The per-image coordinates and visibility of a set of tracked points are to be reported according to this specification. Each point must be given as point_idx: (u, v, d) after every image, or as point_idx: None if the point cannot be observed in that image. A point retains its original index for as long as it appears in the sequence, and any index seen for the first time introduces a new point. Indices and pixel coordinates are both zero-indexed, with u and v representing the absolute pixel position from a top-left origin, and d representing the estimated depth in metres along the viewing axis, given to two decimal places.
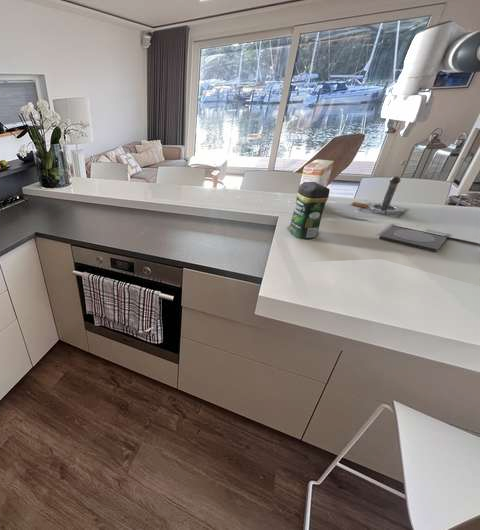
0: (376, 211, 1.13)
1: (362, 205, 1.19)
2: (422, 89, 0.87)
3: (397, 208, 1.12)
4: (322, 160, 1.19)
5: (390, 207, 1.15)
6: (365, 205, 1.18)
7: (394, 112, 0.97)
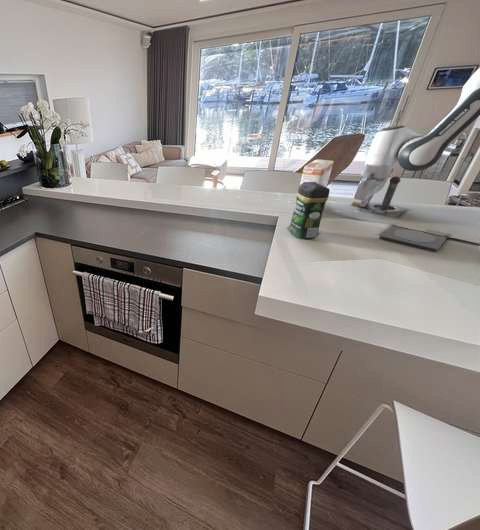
0: (376, 211, 1.13)
1: None
2: (368, 175, 1.10)
3: (397, 208, 1.12)
4: (322, 160, 1.19)
5: (390, 207, 1.15)
6: None
7: None
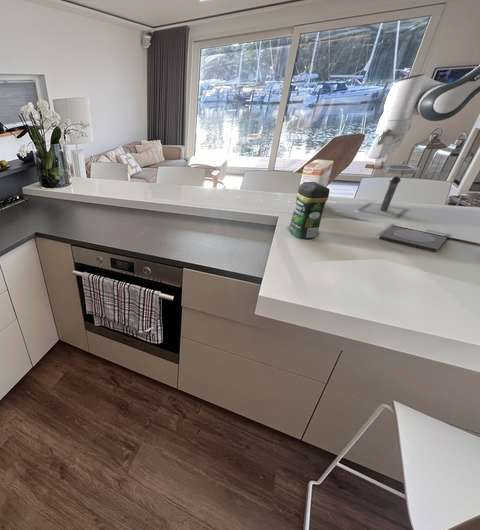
0: (392, 171, 1.05)
1: None
2: (384, 131, 1.02)
3: (415, 167, 1.04)
4: (322, 160, 1.19)
5: (407, 167, 1.07)
6: None
7: None
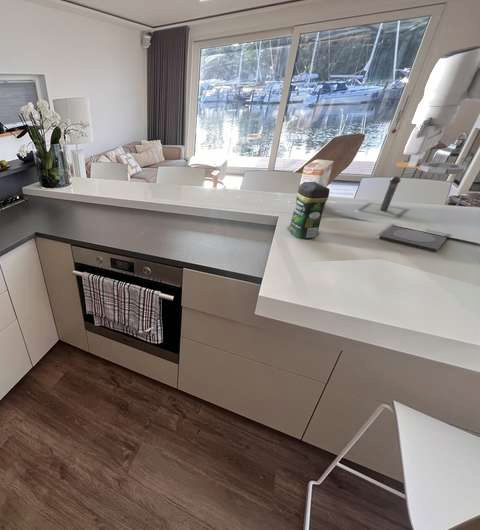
0: (433, 170, 0.84)
1: None
2: (425, 120, 0.81)
3: (462, 166, 0.83)
4: (322, 160, 1.19)
5: (450, 166, 0.86)
6: None
7: None
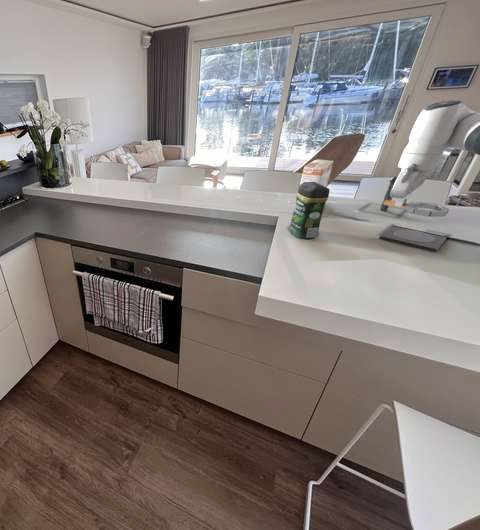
0: (417, 212, 0.89)
1: None
2: (409, 166, 0.86)
3: (444, 208, 0.88)
4: (322, 160, 1.19)
5: (434, 207, 0.91)
6: None
7: (403, 182, 0.94)
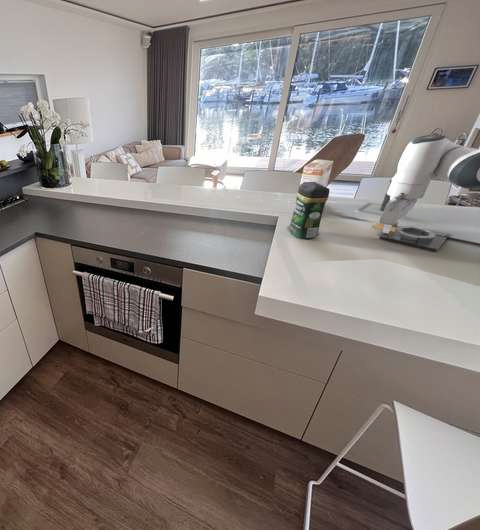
0: (406, 237, 0.93)
1: None
2: (397, 195, 0.91)
3: (431, 233, 0.92)
4: (322, 160, 1.19)
5: (422, 231, 0.96)
6: None
7: None
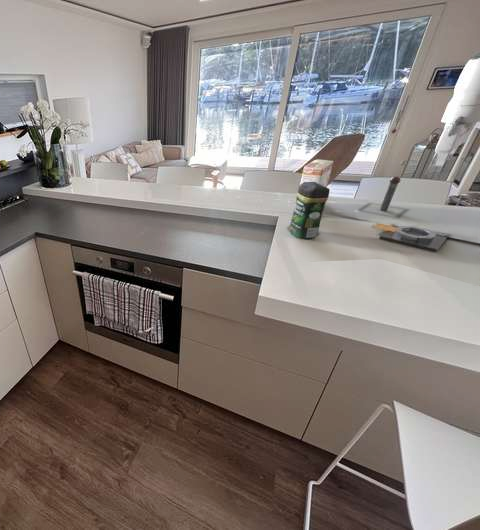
0: (406, 237, 0.93)
1: (387, 228, 1.00)
2: (456, 119, 0.84)
3: (431, 233, 0.92)
4: (322, 160, 1.19)
5: (422, 231, 0.96)
6: (391, 228, 0.99)
7: None
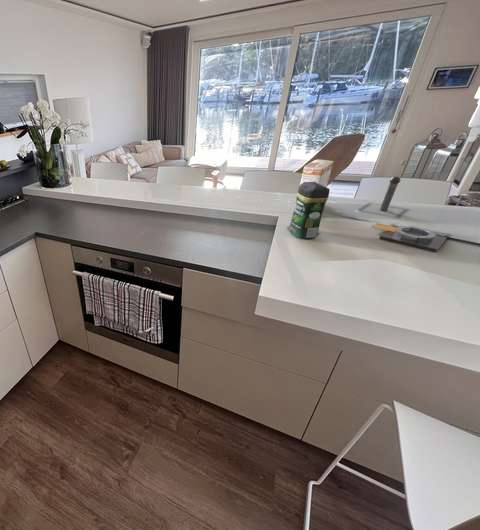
0: (406, 237, 0.93)
1: (387, 228, 1.00)
2: None
3: (431, 233, 0.92)
4: (322, 160, 1.19)
5: (422, 231, 0.96)
6: (391, 228, 0.99)
7: None
